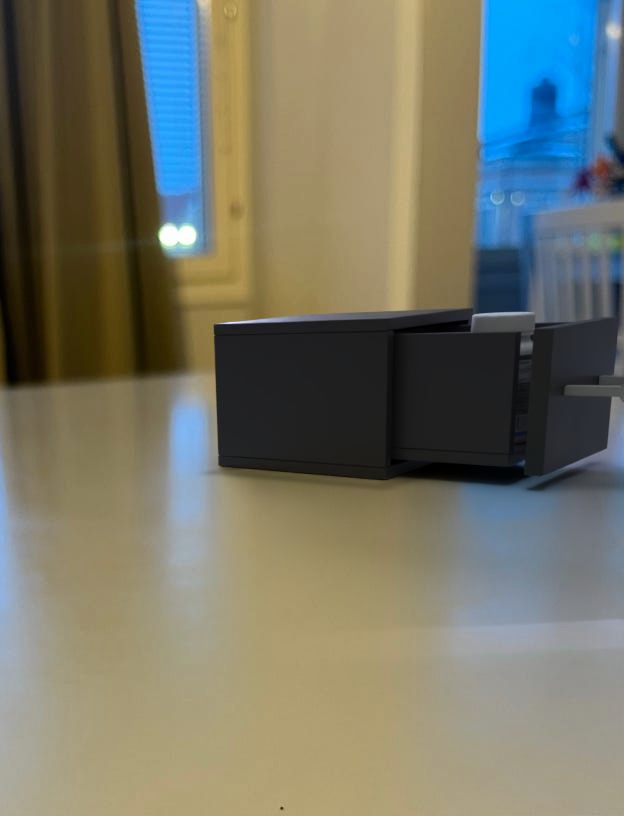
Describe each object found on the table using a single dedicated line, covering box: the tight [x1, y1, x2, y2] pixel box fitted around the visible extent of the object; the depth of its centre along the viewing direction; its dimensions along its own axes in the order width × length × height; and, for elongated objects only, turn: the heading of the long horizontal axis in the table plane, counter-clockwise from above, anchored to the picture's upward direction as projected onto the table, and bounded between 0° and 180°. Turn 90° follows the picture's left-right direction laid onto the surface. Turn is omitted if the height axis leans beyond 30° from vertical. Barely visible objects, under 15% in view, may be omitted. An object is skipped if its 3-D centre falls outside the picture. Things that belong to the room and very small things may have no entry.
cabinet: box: [213, 307, 474, 481], centre depth 75 cm, size 15×13×11 cm
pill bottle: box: [471, 311, 536, 444], centre depth 67 cm, size 5×5×8 cm
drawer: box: [391, 316, 624, 477], centre depth 66 cm, size 18×11×9 cm, turn 48°
